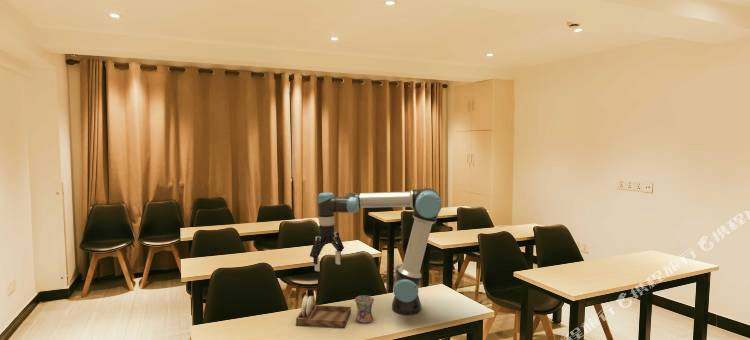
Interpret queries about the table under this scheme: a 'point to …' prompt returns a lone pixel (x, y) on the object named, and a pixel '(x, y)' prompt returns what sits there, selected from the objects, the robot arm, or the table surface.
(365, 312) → the mug
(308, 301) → the plates
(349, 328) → the table surface
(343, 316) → the rack
